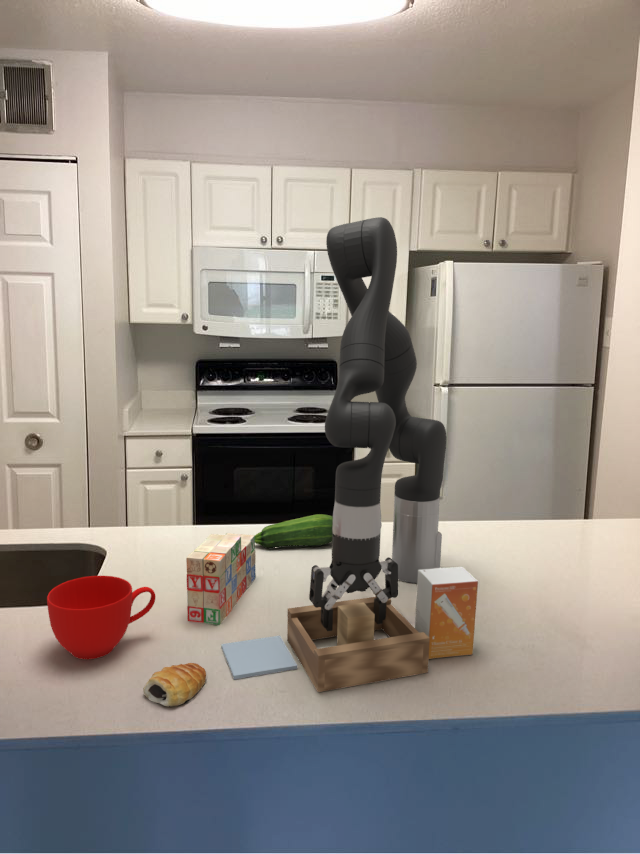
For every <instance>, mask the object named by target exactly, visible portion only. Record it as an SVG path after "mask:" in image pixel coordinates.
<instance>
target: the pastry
mask: <svg viewBox="0 0 640 854" xmlns="http://www.w3.org/2000/svg"><path fill="white" fill-rule="evenodd" d="M206 679H207V671H206V669H205V668H204V667H203V666H201V665H200V664H199V663H196V662H187V663H184V664H182V663H179V664H175V665H171V666H164V667H163V668H162V669H161V670H160V671H159V670H158V671H155V672H154V673H153V674H152V675H151V677H150V678H148V680H147V682H146V683H145V685H144V687H143V691H142V693H143V695H145V696H146V699H148V700H149V701H151V702H152V703H157V704H160V705H162V706H165V707H169V706H170V707H177V706H181V705H184V704H185V702H186V701H188V700H191V699H192V698H193V697H195V695H197V693H198V692H199V691H200V690H201V689H202V688H203V686H204V685H205V683H206Z"/></svg>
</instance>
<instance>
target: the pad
mask: <svg viewBox="0 0 640 854" xmlns="http://www.w3.org/2000/svg"><path fill="white" fill-rule="evenodd" d="M220 645H221V647H220V649H221V650H222V653H223V656H224V657H225V658H224V659H225V660H226V663H227V665H228V667H229V670H230V672H231V675H232V678H233V680H239V679H246V678H249V677H251V678H252V677H257V676H265V675H269V674H275V673H281V671H282V672H286V671H287V670H288V671H292V670H298V664H297V662H296V661H295V659H294V657H293V655H292V654H291V652H290V650H289V649H288V647H287V645H286V643H285V642H284V640H283V638H282V637H281V635H275V636H266V637H261V638H253V639H247V640H240V641H239V640H238V641H234V642H225V643H221V644H220Z"/></svg>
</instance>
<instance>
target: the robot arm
mask: <svg viewBox="0 0 640 854" xmlns="http://www.w3.org/2000/svg"><path fill="white" fill-rule="evenodd" d="M325 243H326V244H325V245H326V252H327V256H328V260H329V263H330V266H331V270H332V271H333V274H334V278H335V280H336V282H337V284H338V287H339V289H340V291H341V293H342V295H343V298H344V301H345V304H346V305H347V308H348V310H349V313H350V318H349V321H347V324H346V325H345V328H344V330H343V332H342V336H341V340H340V348H339V366H338V367H339V368H338V370H339V371H338V379H337V385H336V389H335V392H334V395H333V399H332V400H331V403H330V405H329V409H328V411H327V415H326V417H325V422H324V434H325V436H326V438H327V440H328V442H329V443H330V444H331V445H332V446H334V447H337V448H348V449H349V448H350V449H351V448H355V449H356V448H357V449H370V451H369V452H368V454H366V456H364V457H362V458H360V459H354V460H349V461H348V460H347V461H344V462H341V463H340V464H339V465H337V467H336V471H335V483H334V484H335V485H334V490H335V491H334V504H333V505H334V506H333V511H332V517H333V528H332V542H331V562H330V564H329V566H324V567H319V566H318V565H317V564H315V565H313V566H312V567H311V569H310V570H311V571H310V573H311V574H310V582H309V583H310V584H309V594H308V595H309V596H308V597H309V598H308V599H309V600H310V603H312V605H314V606H315V607H316V608H318V607H321V624H322V625H323V627H324V628H326V630H327V631H332V630H333V609H332V606H333V605H334V604H335V602H338V600H341V598H342V597H343V596H344V594H345V593H347V594H352V593H355V592H366V591H367V590H368V589H370V590H371V592H372V593H373V594H374V595H375V597H376V598H374V614H375V618H374V621H375V622H376V623H377V624H382V623H383V620H385V618H386V603H387V600H388V599H393V598H394V599H395V598H397V597H398V596H399V581H402V582H406V583H412V584H413V583H414V584H417V579H418V570H423V569H434V568H441V560H442V559H441V558H442V557H441V556H442V540H443V535H442V533H441V532H440V530H439V523H440V522H439V519H440V504H441V503H440V498H441V489H442V484H443V479H444V473H445V470H444V469H445V459H446V451H447V440H448V439H447V431H446V430H447V429H446V427H445V425H444V424H443V423H442V421H440V420H436V419H431V418H425V417H424V418H423V417H416V416H412V415H410V412H409V411H408V407H407V404H406V403H407V402H406V395H407V393H408V390H409V388H410V386H411V385H412V383H413V379H414V377H415V376H416V375H415V374H416V371H417V365H418V363H417V356H416V353H415V349H414V346H413V344H414V343H413V341H412V338H411V334H410V332H409V330H408V329H407V327H406V326H405V325H404V324H403V323H402V321H400V319H399V318H398V317H397V316H395V315H394V314H393V313H392V312H391V311H390V305H391V301H392V294H393V289H394V283H395V276H396V270H397V260H398V244H397V238H396V233H395V230H394V227H393V225H392V224H391V222H390V221H389V220H388V219H387V218H385V217H372V218H367V219H362V220H357V221H353V222H347V223H343V224H340V225H335V226H333V227H331V228H330V229H329V230H328V232H327V235H326V242H325ZM368 277H369V278H370V277H371V279H370V282H369V284H368V287H367V285H366V283H365V281H364V280H363V278H368ZM373 392H375V395H376V399H377V401H370V402H369V401H352V400H353V399H354V398H355V397H359V396H361V395H366V394H370V393H373ZM388 451H389V452H390V453H391V455H392V457H394V458H395V459H397V460H400V461H401V462H406V463H412V464H418V468H417V473H416V474H414V475H409V476H408V475H407V476H404V477H401V478H399V479H397V480H396V481H395V483H394V496H393V497H394V498H393V499H394V501H393V525H392V548H391V549H392V550H391V552H392V553H391V554H392V555H391V557H386V558H385V559H384V560H382V561H380V553H381V552H380V551H381V536H382V535H381V532H382V531H381V530H382V524H383V523H382V510H381V495H382V494H381V493H382V492H381V490H382V475H383V471H384V470H383V468H384V465H385V461H386V456H387V454H388ZM381 571H382V573H384V582H385V583H384V585H385V587H384V588H383V589H382V588H381V586H380V585H379V584H378V582H377V580H376V579H377V578H378V575H380V573H381ZM328 576H330V577H331V578H332V579H331V580H330V582H329V583H328V585H327V586H326V589H325V592H324V593H323V585H324V583H325V582H326V581H327V578H328Z"/></svg>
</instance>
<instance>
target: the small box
mask: <svg viewBox="0 0 640 854" xmlns="http://www.w3.org/2000/svg"><path fill="white" fill-rule="evenodd" d="M478 587H479V580H478V579H476V578H475V577H474V576H473V575H472V573H470V572H469V570H467V569H466V568H465V567H464V566H453V567H452V566H451V567H440V568H434V569H423V570H418V579H417V583H416V603H415V617H414V618H415V620H414V628H415V629H416V630H417V631H418V632H419V633H421V632H424V633H425V634H426V635H427V636H428V637H429V638H430V641H429V660H432V659H439V658H450V657H459V656H460V657H461V656H472V655H474V641H475V632H476V631H475V627H476V616H477V615H476V613H477V612H476V611H477V602H478Z"/></svg>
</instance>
